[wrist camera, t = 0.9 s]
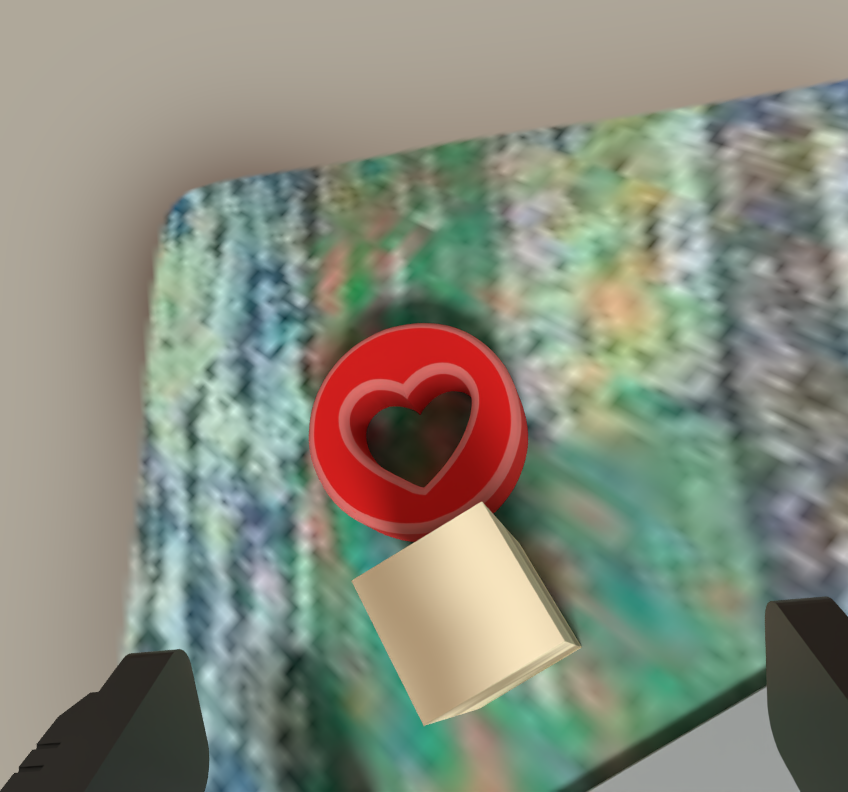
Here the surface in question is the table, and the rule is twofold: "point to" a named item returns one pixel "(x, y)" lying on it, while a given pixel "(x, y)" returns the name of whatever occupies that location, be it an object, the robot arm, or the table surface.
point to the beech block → (464, 616)
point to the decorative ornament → (415, 388)
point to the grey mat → (713, 757)
